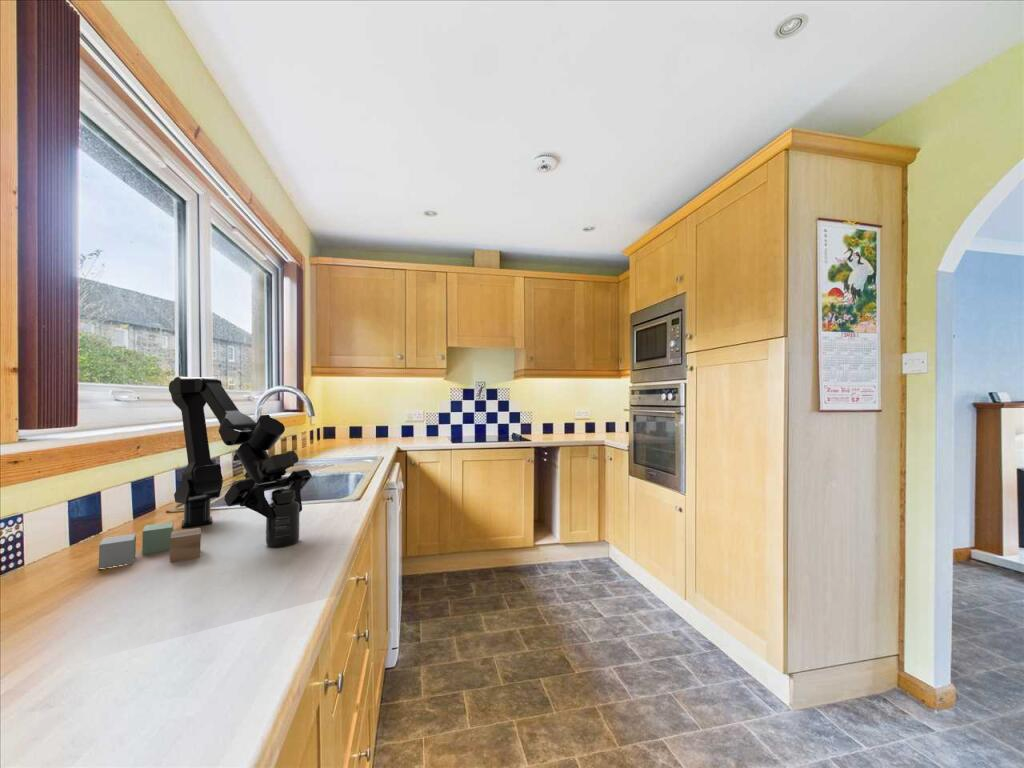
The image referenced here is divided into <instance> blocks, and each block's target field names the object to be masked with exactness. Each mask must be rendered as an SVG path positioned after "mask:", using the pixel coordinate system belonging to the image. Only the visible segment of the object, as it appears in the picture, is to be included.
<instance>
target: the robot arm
mask: <svg viewBox="0 0 1024 768" xmlns="http://www.w3.org/2000/svg"><path fill="white" fill-rule="evenodd" d="M168 384H169V385H168V391H169V393H170V396H171V400H172V403H174V405H175V406H176V407H177V408H178V409H179V410H180V411H181V417H182V428H183V432H184V433H183V434H184V442H185V448H186V457H187V458H186V459H187V464H186V467H185V469H184V470H183V472H182V475H181V483H180V485H178V487H177V489H176V491H175V493H174V494H173V497H174V498H173V499H174V502H175V503H178V504H183V519H182V520H181V528H189V527H197V526H204V525H210V524H213V516H212V515H211V512H212V511H211V510H212V509H211V507H212V505H211V504H212V503H211V502H212V499H215V498H220V497H221V493H222V488H223V483H224V481H223V479H224V477H223V474H222V466H221V464H219V463H215V462H214V461H213V460H212V458H211V452H210V444H209V437H208V431H207V423H206V421H207V420H206V415H205V409H204V408H205V406H206V404H207V405H208V407H209V408H210V410H211V412H212V413H213V415H214V417H216V419H217V421H218V422H219V428H218V433H219V435H220V439H221V440H222V442H223V444H225V445H226V446H227V447H228V446H230V447H233V446H238V448H237V449H235V453H234V455H233V457H232V461H233V462H239V461H240V462H241V464H242V466H243V468H244V470H245V473H244V478H245V479H241V480H235V481H234V482H233V483H232V485H231V486H230V487H229V489H227V491H226V493H225V495H224V501H225V504H226V506H228V507H233V506H236V505H237V506H238V505H239V507H246V508H248V509H250V510H252V511H254V512H256V513H258V514H259V515H262V516H263V517H265V518H266V517H267V518H268V519H270V520H273V519H274V518H275V515H274V513H273V511H272V509H271V507H270V505H269V504H270V503H269V501H268V499H267V498H266V495H265V492H267V491H271V490H272V491H274V490H279V489H294V490H295V498H294V500H295V501H297V502H298V503H299V505H300V513H301V512H302V511H303V504H302V496H301V491H302V490H303V488H304V487H305V486H306V485H307V484H308V482H309V481H310V480H311V478H312V477H313V475H312V473H311V472H310V470H309V469H306V468H303V469H299V470H292V472H290V475H288V477H285V478H283V476H285V475H286V473H287V469H289V468H291V467H292V468H293V467H294V466H295V464H296V463H298V462H299V457H298V454H297V452H295V450H288V451H287V452H284V453H280V454H274V455H271V456H270V455H269V453H268V451H269V450H271V449H272V448H273V447H274V446H275V444H276V443H277V442H278V441H279V440H280V438H281V436H282V435H283V434H284V432H285V430H286V429H285V424H283V422H281V421H280V420H277V418H273V417H271V416H270V414H261V415H260V416H259V417H258V419H257V421H254V419H252V417H250V416H248V415H246V414H245V413H244V414H243V413H242V412H241V411H240V410H239V408H238V407H237V406H236V404H235V403H234V401H233V400H232V398H231V397H230V396H229V394H228V393H227V391H226V390H225V388H224V387H223V382H222V381H221V379H219V378H217V377H203V376H202V377H197V376H196V377H195V376H193V377H191V376H190V377H189V376H176V377H175V378H174V379H172V380H171V381H170V382H169V383H168Z"/></svg>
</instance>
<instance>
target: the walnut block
mask: <svg viewBox="0 0 1024 768" xmlns="http://www.w3.org/2000/svg"><path fill="white" fill-rule="evenodd" d="M201 533H202V531H201V527H196V528H195V527H194V528H191V529H190V528H188V529H183V530H182V529H181V530H175V531H174V530H173V532H172V533H171V540H170V550H169V551H170V552H169V555H170V556H169V563H175V562H181V561H186V560H192V559H197V558H199V559H200V558H201V545H202V542H201V540H202V539H201V538H202V537H201V535H202V534H201Z"/></svg>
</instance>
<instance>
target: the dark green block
mask: <svg viewBox="0 0 1024 768" xmlns="http://www.w3.org/2000/svg"><path fill="white" fill-rule="evenodd" d="M172 532H174V521H170V522H161V523H153V524H147V525H144V527H143V530H142V543H141V544H142V548H141V554H142V555H147V554H154V553H155V554H156V553H159V552H167V551H170V540H171V533H172ZM166 550H167V551H166Z"/></svg>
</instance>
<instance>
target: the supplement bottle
mask: <svg viewBox="0 0 1024 768" xmlns="http://www.w3.org/2000/svg"><path fill="white" fill-rule="evenodd" d="M294 498H295V490H294V489H284V488H279V489H274V490H272V491H271V498H270V499H271V501H272V502H271V503H269V505H270V507H271V509H272V511H273V513H274V515H275V518H274V519H273V520H270V519H268V518H267V517H265V522H266V523H265V532H266V533H265V544H266V545H267V546H268V547H270V548H282V547H287V546H292V545H294V544H297V543H298V541H300V540H299V539H300V513H301V512H300V505H299V503H298V502H297V501H295V500H294Z"/></svg>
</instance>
